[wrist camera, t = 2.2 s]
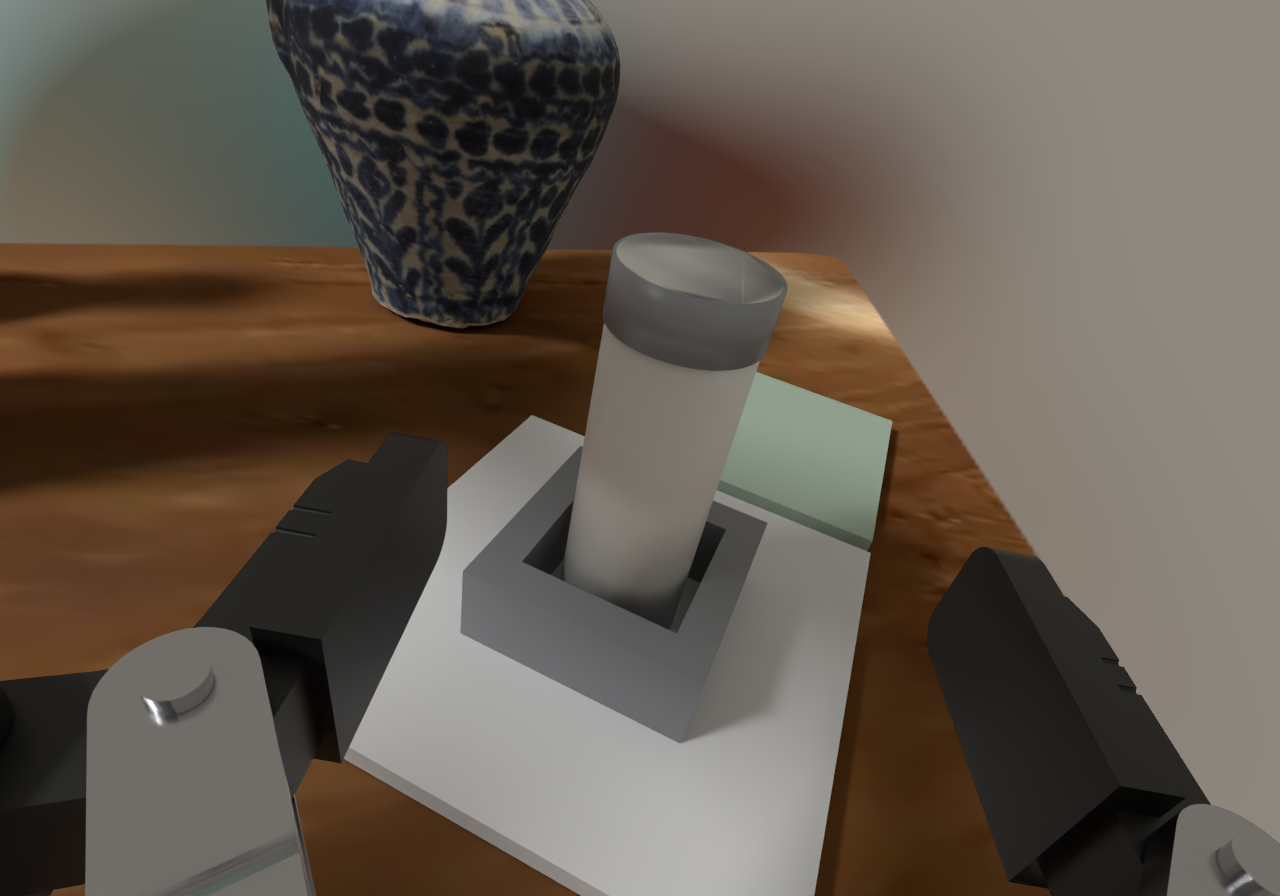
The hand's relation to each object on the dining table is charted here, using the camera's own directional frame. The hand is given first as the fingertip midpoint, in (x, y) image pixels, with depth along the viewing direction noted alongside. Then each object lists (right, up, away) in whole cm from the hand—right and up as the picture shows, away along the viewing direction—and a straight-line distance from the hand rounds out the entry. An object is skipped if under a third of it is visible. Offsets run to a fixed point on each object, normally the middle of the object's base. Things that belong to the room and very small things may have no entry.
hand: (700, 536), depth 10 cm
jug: (-15, +12, +39) cm, 44 cm away
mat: (+7, +2, +32) cm, 33 cm away
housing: (-2, -6, +18) cm, 19 cm away
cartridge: (-2, -5, +18) cm, 19 cm away
